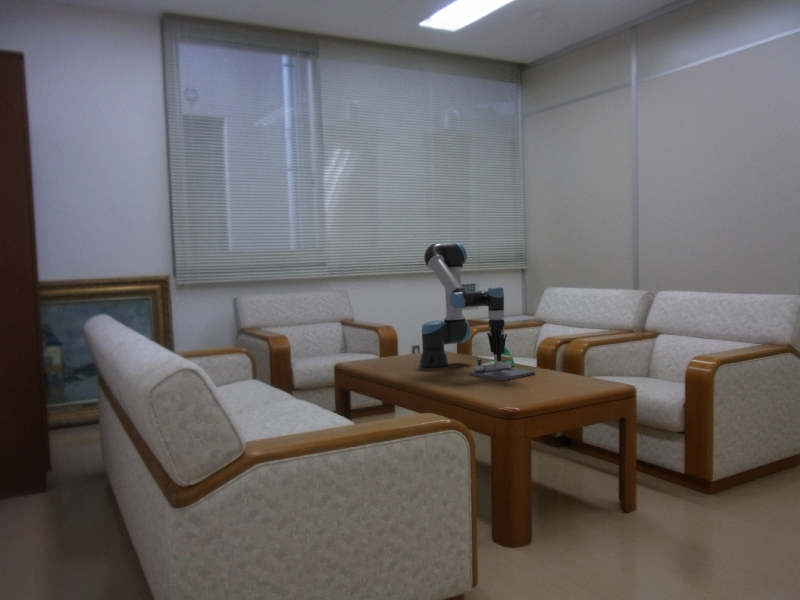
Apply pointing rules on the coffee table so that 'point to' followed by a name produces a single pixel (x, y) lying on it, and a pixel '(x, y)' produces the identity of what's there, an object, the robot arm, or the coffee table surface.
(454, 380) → the coffee table surface
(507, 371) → the plate
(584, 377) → the coffee table surface
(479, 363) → the link
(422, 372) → the coffee table surface
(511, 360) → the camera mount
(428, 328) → the robot arm
